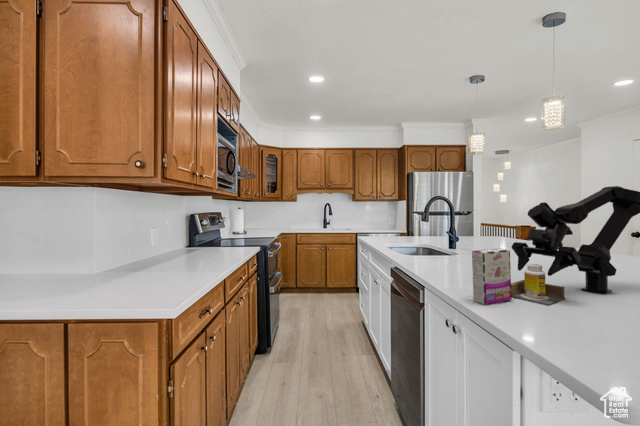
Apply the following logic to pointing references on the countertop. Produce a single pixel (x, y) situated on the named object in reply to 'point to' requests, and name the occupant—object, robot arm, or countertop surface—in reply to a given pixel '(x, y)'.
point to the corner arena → (551, 297)
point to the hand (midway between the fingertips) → (533, 272)
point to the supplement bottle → (534, 281)
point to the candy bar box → (491, 276)
